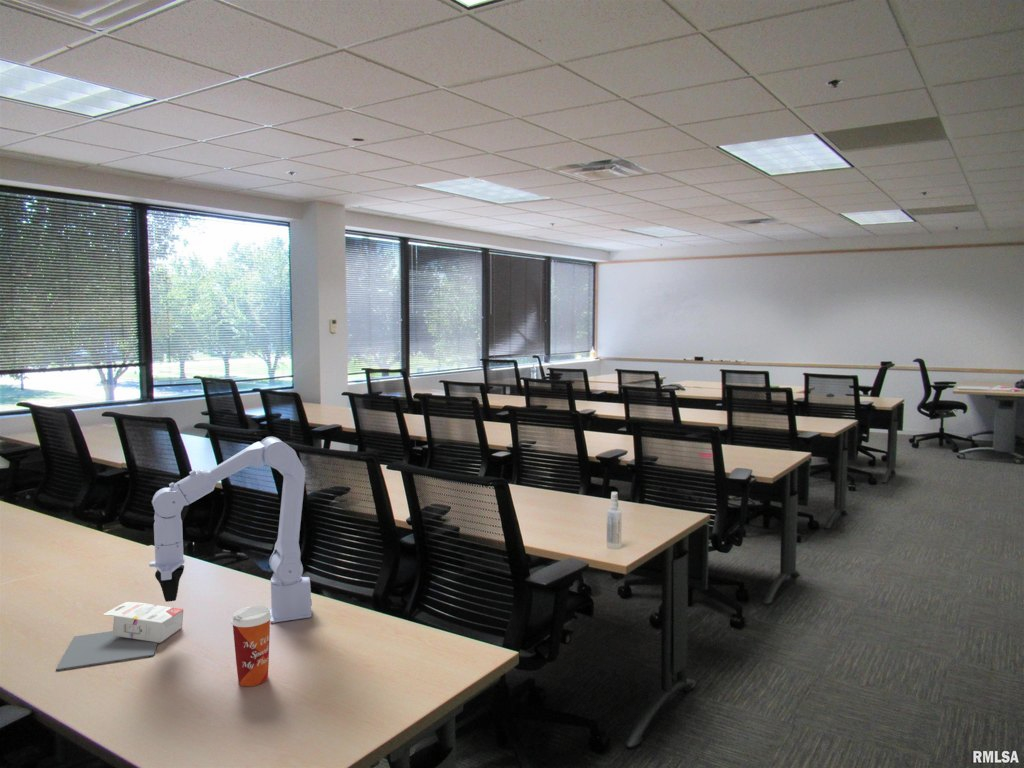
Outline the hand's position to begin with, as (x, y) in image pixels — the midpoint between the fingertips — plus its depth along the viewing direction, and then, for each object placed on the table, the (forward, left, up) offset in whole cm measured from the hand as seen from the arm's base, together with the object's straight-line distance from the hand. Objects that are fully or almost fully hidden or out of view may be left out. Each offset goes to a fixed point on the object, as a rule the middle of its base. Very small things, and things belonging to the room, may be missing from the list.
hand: (170, 600), depth 154 cm
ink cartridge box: (0, -1, -7) cm, 7 cm away
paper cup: (-17, +26, -9) cm, 32 cm away
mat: (+12, 0, -9) cm, 15 cm away
